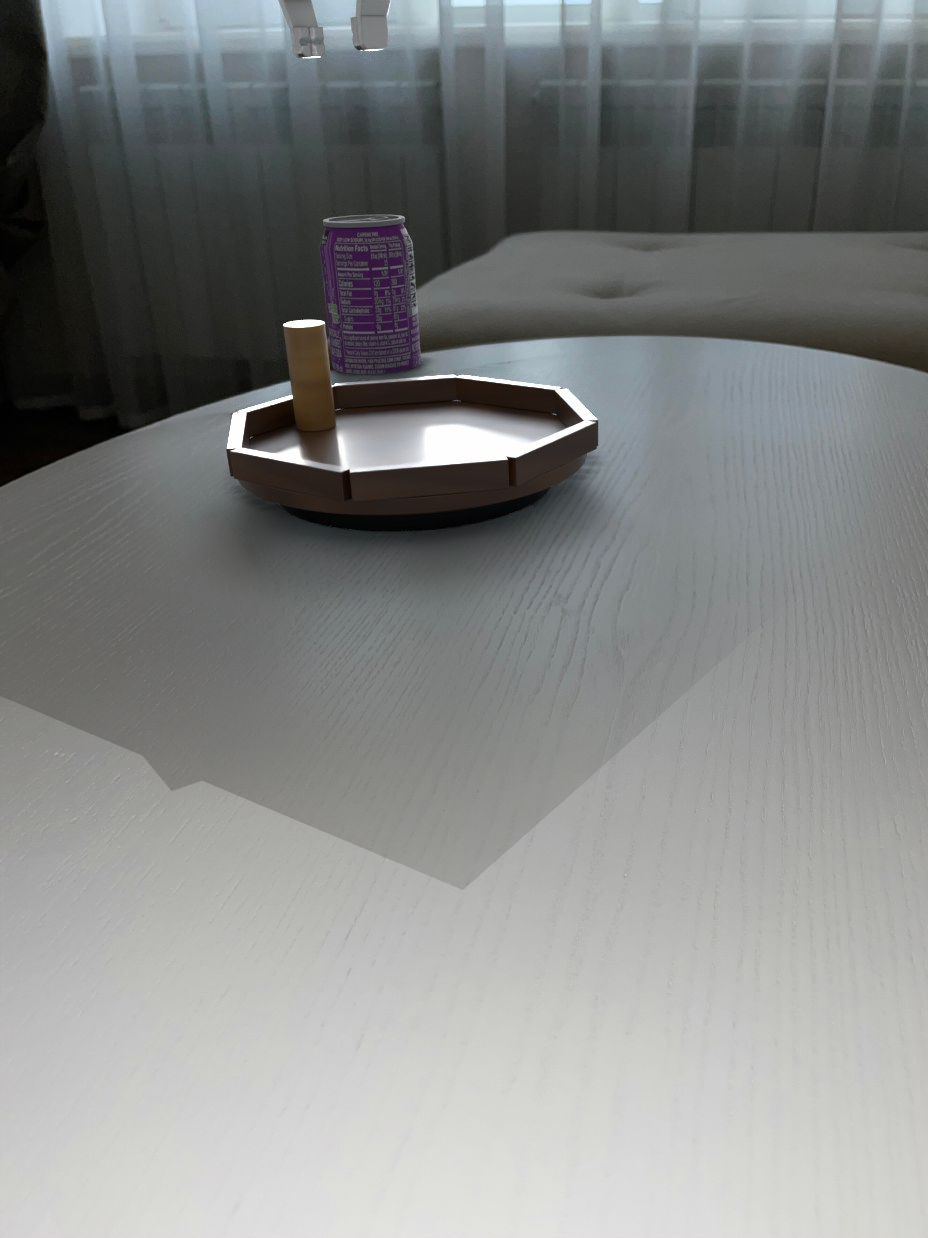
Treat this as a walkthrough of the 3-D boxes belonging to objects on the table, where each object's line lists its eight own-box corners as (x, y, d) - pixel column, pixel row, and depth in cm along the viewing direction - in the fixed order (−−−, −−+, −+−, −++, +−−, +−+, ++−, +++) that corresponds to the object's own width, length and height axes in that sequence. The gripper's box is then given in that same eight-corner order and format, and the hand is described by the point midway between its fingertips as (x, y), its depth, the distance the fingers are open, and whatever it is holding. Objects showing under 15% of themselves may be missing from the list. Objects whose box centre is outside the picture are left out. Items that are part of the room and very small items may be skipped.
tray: (649, 438, 66) (653, 317, 62) (443, 541, 51) (433, 391, 48) (392, 401, 76) (383, 295, 72) (160, 478, 61) (135, 351, 58)
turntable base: (232, 481, 66) (228, 456, 65) (457, 433, 74) (455, 411, 73) (359, 555, 54) (356, 526, 54) (609, 489, 62) (609, 463, 62)
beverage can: (388, 366, 93) (374, 212, 88) (440, 378, 89) (429, 216, 83) (317, 381, 89) (298, 220, 83) (367, 394, 85) (351, 225, 79)
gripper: (202, -184, 72) (236, 62, 78) (335, -268, 56) (363, 46, 63) (292, -175, 75) (317, 61, 81) (442, -253, 59) (458, 45, 66)
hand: (339, 54), depth 72 cm, fingers open, 8 cm apart
